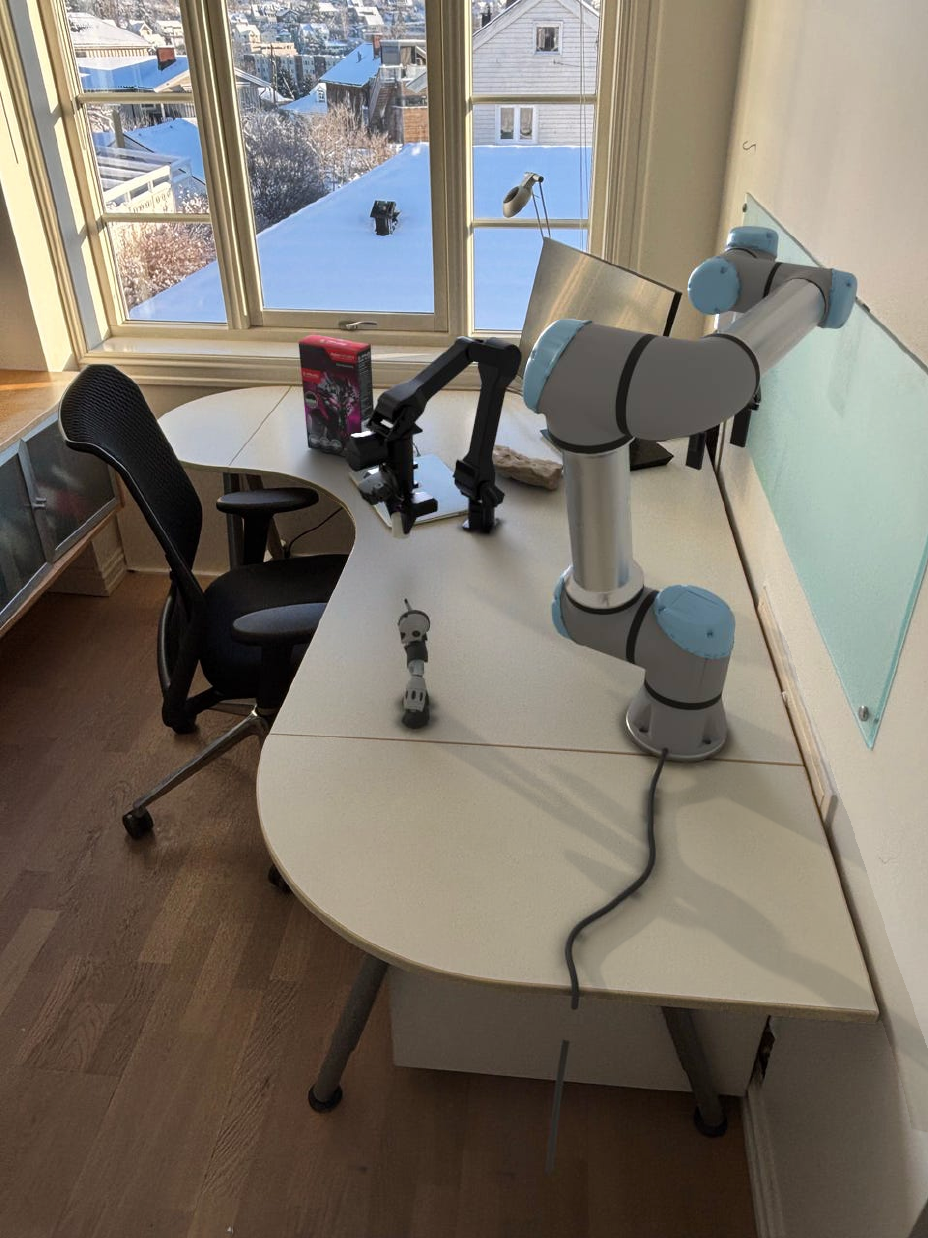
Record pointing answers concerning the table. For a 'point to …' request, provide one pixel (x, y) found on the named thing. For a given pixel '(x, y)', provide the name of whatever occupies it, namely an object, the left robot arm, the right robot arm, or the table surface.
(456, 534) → the table surface
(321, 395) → the graphics card box
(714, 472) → the table surface
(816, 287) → the right robot arm
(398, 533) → the can
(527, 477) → the stone
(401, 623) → the robot
